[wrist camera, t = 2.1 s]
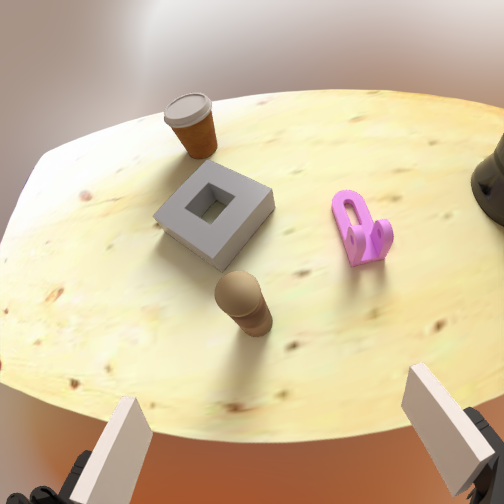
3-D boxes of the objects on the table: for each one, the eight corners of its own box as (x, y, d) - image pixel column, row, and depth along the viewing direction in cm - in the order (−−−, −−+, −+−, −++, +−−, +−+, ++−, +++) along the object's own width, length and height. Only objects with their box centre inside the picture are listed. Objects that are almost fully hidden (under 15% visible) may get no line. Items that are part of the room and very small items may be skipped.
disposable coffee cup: (213, 167, 55) (195, 120, 45) (174, 162, 58) (152, 120, 47) (232, 135, 59) (218, 90, 48) (194, 133, 62) (177, 92, 51)
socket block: (214, 177, 54) (207, 159, 49) (275, 207, 48) (271, 188, 44) (164, 231, 50) (152, 216, 46) (222, 272, 45) (213, 258, 40)
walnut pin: (253, 300, 42) (233, 262, 30) (279, 317, 40) (269, 286, 29) (234, 325, 41) (205, 297, 29) (260, 343, 39) (240, 323, 27)
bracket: (384, 259, 41) (395, 236, 35) (351, 267, 42) (358, 245, 35) (357, 192, 47) (362, 165, 41) (327, 198, 48) (329, 171, 42)
